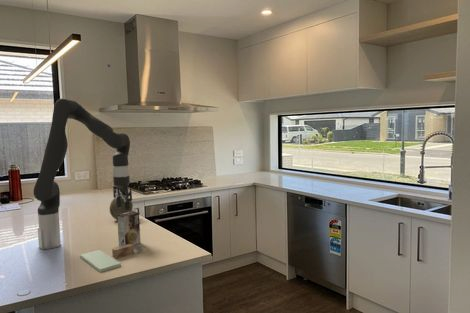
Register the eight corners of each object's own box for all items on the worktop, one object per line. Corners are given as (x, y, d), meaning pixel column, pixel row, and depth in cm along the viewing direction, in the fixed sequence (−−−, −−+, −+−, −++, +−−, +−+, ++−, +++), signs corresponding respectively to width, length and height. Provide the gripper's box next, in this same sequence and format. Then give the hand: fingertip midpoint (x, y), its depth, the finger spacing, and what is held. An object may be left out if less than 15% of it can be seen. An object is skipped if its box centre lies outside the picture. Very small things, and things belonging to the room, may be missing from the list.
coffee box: (133, 240, 183) (132, 210, 182) (140, 243, 179) (139, 212, 178) (118, 245, 176) (116, 214, 175) (125, 248, 172) (123, 216, 171)
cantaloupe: (133, 221, 220) (132, 198, 219) (109, 223, 216) (108, 199, 215) (133, 216, 234) (132, 194, 232) (110, 217, 230) (109, 195, 228)
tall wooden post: (116, 259, 158) (116, 251, 157) (111, 256, 162) (110, 247, 162) (146, 251, 168) (146, 243, 167) (140, 248, 172) (140, 240, 172)
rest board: (99, 272, 144) (99, 269, 144) (80, 257, 161) (80, 254, 161) (120, 266, 150) (120, 263, 150) (99, 252, 167) (99, 249, 167)
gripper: (107, 174, 170) (109, 207, 171) (120, 177, 160) (122, 212, 161) (121, 173, 175) (123, 204, 176) (135, 175, 165) (137, 209, 166)
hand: (123, 208), depth 169 cm, fingers open, 8 cm apart
